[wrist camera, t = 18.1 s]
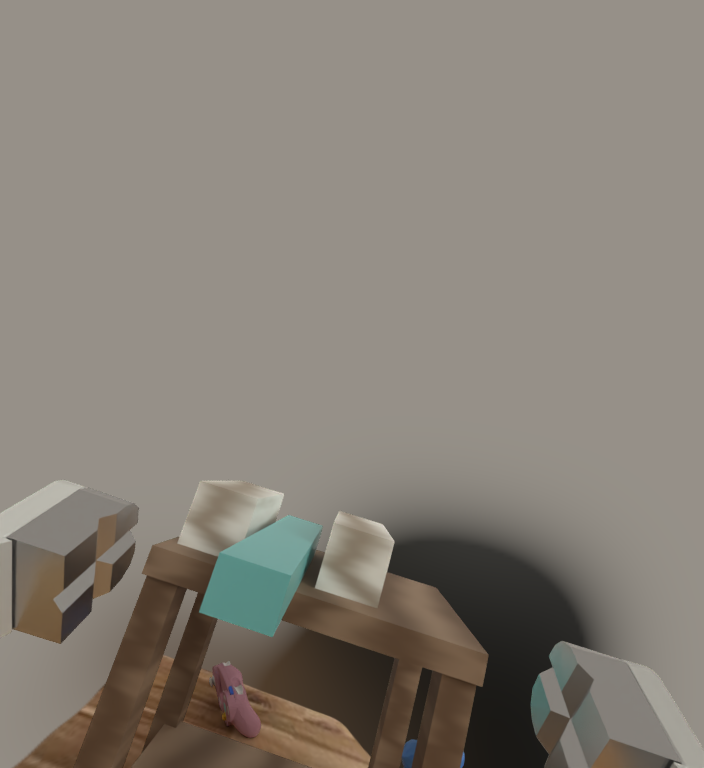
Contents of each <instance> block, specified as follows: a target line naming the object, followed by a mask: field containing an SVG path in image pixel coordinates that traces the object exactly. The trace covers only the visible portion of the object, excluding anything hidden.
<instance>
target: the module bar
mask: <svg viewBox="0 0 704 768" xmlns="http://www.w3.org/2000/svg"><path fill="white" fill-rule="evenodd" d="M322 528H323V526H322V525H319V524H315V523H312V522H309V521H306V520H303V519H299V518H297V517H293V516H290V515H288V516H286V517H284V518H282V519H280V520H279V521H277V522H275V523H273V524H271V525H269V526H268V527H266V528H264V529H262V530H260V531H258V532H256V533H255V534H253V535H251V536H249V537H247V538H245V539H244V540H242V541H240V542H238V543H236V544H234V545H232V546H231V547H229V548H227V549H225V550H223V551H221V552H220V553H219V556H218V559H217V561H216V564H215V567H214V570H213V573H212V576H211V579H210V582H209V585H208V587H207V590H206V593H205V596H204V599H203V602H202V605H201V608H200V610H199V613H202V614H205V615H208V616H211V617H214V618H217V619H220V620H224V621H227V622H229V623H232V624H235V625H238V626H241V627H244V628H247V629H250V630H253V631H256V632H259V633H262V634H265V635H268V636H271V637H273V635H274V633H275V631H276V629H277V627H278V625H279V623H280V621H281V619H282V617H283V616H284V614H285V612H286V610H287V608H288V606H289V604H290V602H291V600H292V598H293V596H294V594H295V592H296V590H297V588H298V586H299V584H300V582H301V580H302V578H303V576H304V574H305V572H306V570H307V569H308V567H309V565H310V563H311V561H312V559H313V557H314V555H315V552H316V549H317V545H318V542H319V539H320V535H321V532H322Z"/></svg>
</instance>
